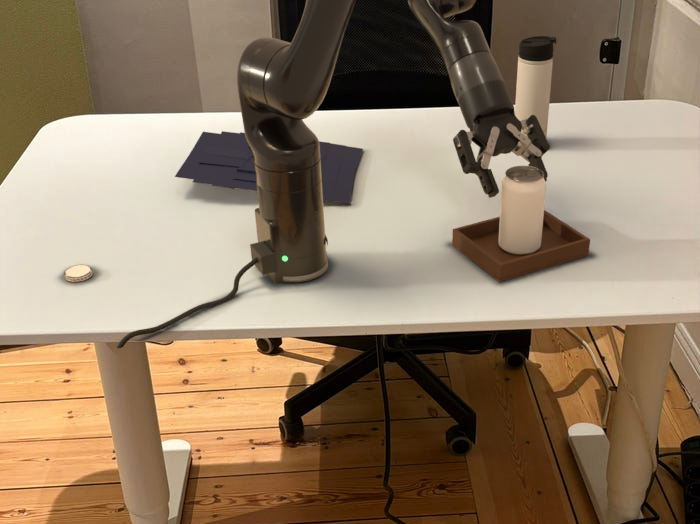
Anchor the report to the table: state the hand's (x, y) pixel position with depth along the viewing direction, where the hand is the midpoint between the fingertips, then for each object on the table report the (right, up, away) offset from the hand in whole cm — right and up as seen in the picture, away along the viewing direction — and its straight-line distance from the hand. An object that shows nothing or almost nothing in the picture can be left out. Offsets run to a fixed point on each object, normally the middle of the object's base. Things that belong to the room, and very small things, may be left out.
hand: (518, 189), depth 138 cm
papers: (-40, +8, +29) cm, 50 cm away
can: (+1, -8, +5) cm, 9 cm away
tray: (+1, -9, +5) cm, 10 cm away
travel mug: (+7, +16, +40) cm, 43 cm away
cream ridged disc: (-65, -13, 0) cm, 67 cm away
